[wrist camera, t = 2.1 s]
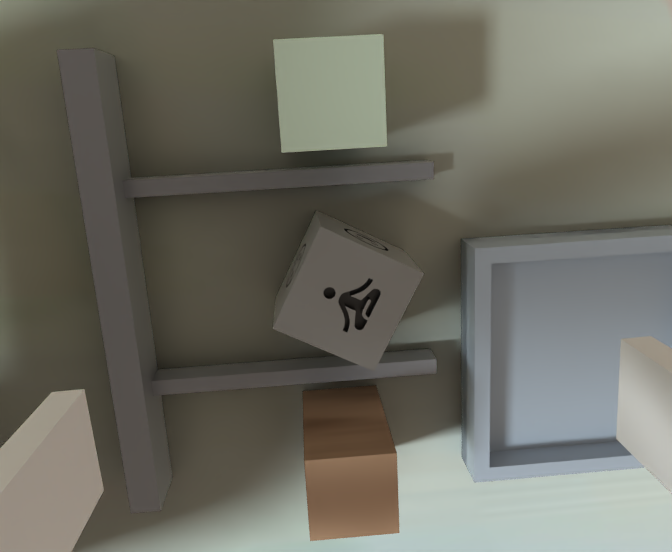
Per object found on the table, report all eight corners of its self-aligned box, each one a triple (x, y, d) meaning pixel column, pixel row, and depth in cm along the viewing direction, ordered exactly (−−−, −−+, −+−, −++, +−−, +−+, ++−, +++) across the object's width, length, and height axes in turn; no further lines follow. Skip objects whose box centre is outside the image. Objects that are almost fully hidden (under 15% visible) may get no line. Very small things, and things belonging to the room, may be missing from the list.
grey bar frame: (432, 454, 34) (444, 485, 31) (145, 479, 33) (130, 513, 30) (424, 40, 29) (439, 30, 26) (81, 57, 28) (56, 49, 25)
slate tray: (676, 438, 35) (705, 462, 33) (461, 457, 34) (474, 482, 32) (697, 222, 32) (730, 231, 29) (460, 238, 31) (474, 248, 29)
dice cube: (361, 334, 32) (374, 371, 27) (275, 297, 31) (272, 328, 27) (403, 250, 31) (424, 273, 26) (316, 209, 30) (320, 226, 26)
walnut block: (378, 450, 34) (399, 532, 27) (307, 456, 34) (310, 540, 27) (376, 385, 33) (396, 452, 26) (302, 390, 33) (304, 461, 26)
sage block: (365, 140, 30) (387, 146, 23) (284, 145, 30) (281, 152, 23) (362, 54, 29) (383, 33, 22) (278, 59, 28) (272, 39, 22)
